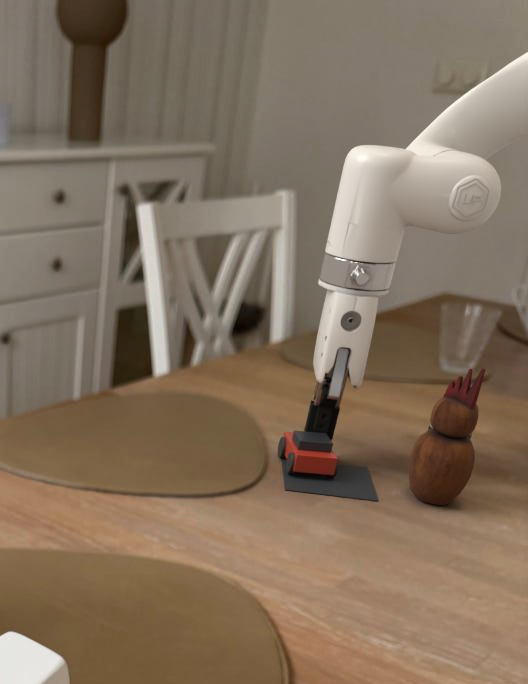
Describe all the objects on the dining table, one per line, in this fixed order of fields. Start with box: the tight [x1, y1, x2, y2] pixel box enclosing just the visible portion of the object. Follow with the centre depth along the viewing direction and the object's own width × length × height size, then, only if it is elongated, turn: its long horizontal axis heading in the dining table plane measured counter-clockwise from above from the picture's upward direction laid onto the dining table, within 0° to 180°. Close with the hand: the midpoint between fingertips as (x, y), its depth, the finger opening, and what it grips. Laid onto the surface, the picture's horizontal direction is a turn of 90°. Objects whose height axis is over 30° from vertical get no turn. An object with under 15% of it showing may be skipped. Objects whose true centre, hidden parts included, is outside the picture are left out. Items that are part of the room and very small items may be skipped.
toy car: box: [277, 430, 340, 478], centre depth 113 cm, size 8×4×5 cm
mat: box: [281, 458, 379, 502], centre depth 111 cm, size 10×10×1 cm
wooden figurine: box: [407, 368, 486, 506], centre depth 104 cm, size 7×6×15 cm
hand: (317, 436), depth 115 cm, fingers closed
